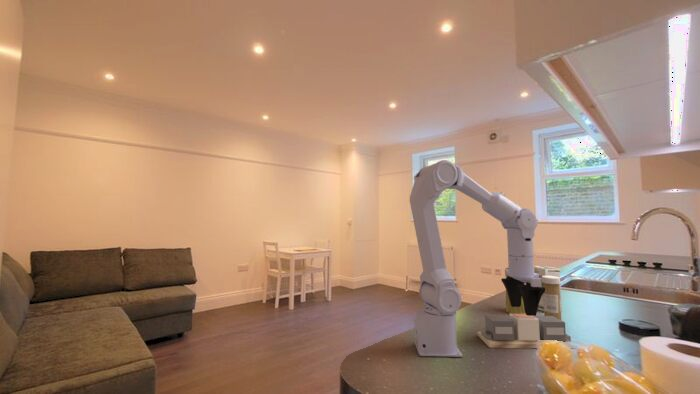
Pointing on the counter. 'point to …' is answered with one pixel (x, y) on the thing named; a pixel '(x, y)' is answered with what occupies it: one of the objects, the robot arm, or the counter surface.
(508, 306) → the vase
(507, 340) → the board
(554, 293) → the sprinkles bottle
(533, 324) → the block
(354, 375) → the counter surface
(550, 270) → the syrup box
